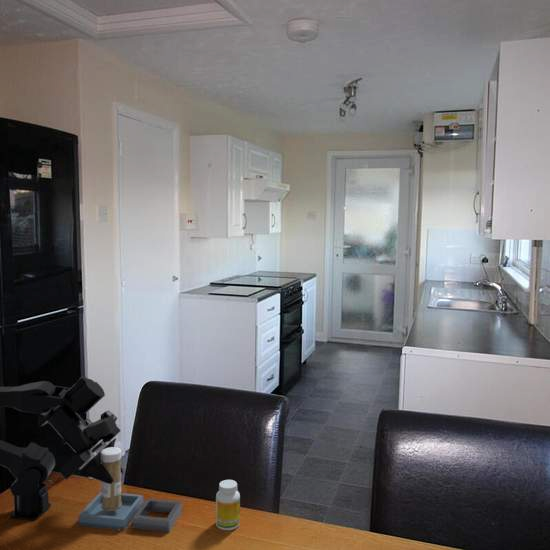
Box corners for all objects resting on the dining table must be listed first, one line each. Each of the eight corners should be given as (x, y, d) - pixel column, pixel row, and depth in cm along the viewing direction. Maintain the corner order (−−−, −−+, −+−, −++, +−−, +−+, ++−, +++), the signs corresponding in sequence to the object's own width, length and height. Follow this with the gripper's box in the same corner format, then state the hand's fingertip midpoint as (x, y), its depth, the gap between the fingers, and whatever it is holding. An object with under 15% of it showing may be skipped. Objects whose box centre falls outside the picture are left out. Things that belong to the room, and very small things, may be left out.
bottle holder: (132, 528, 118) (132, 517, 118) (147, 508, 126) (147, 498, 126) (169, 532, 117) (169, 521, 116) (181, 511, 125) (181, 501, 125)
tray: (79, 525, 119) (78, 514, 118) (101, 501, 129) (101, 491, 129) (124, 530, 117) (124, 519, 117) (143, 505, 127) (143, 495, 127)
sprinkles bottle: (124, 508, 122) (124, 451, 121) (104, 514, 120) (103, 456, 118) (118, 499, 126) (117, 444, 125) (98, 504, 124) (97, 448, 122)
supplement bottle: (213, 520, 122) (213, 479, 121) (236, 516, 124) (236, 476, 123) (219, 533, 117) (219, 491, 116) (242, 528, 118) (243, 487, 118)
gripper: (72, 419, 112) (123, 475, 111) (112, 391, 130) (155, 439, 130) (38, 452, 114) (87, 507, 113) (82, 420, 132) (125, 467, 132)
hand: (116, 477), depth 122 cm, fingers open, 4 cm apart
